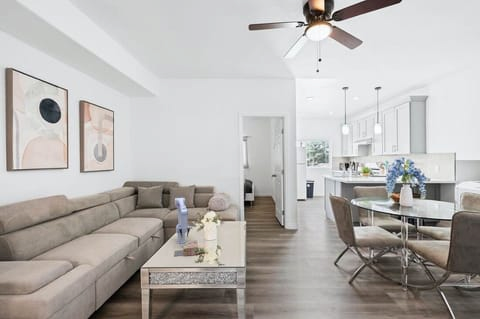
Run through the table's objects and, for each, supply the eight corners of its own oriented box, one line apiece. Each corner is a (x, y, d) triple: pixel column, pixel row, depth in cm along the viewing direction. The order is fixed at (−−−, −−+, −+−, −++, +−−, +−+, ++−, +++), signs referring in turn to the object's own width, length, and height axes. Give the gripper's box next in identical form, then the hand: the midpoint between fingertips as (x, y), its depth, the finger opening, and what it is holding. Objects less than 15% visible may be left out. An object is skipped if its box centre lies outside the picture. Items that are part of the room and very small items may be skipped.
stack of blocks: (197, 247, 241) (183, 248, 239) (197, 240, 241) (183, 241, 239) (198, 254, 220) (183, 255, 218) (198, 247, 220) (183, 248, 218)
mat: (174, 251, 232) (174, 250, 232) (206, 248, 238) (206, 248, 238) (174, 256, 218) (174, 256, 218) (207, 253, 224) (207, 253, 224)
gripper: (176, 223, 237) (176, 238, 237) (192, 222, 241) (192, 237, 240) (176, 222, 244) (176, 236, 244) (192, 221, 247) (192, 235, 247)
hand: (184, 237), depth 243 cm, fingers open, 4 cm apart
